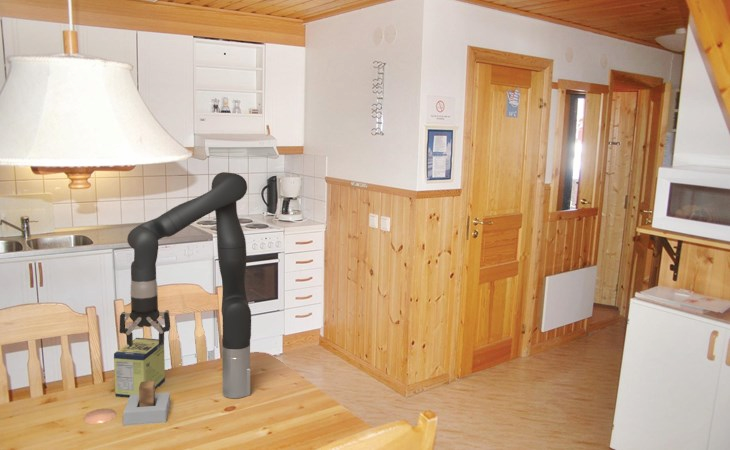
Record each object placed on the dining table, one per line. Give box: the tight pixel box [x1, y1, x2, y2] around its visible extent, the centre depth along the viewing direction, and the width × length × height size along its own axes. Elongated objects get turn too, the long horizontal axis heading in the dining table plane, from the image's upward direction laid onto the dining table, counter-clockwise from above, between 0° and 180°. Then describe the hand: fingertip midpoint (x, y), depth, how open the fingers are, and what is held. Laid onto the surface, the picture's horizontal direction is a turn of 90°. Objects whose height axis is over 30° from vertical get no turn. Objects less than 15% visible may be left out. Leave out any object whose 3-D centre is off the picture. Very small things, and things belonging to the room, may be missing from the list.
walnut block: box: [139, 381, 156, 407], centre depth 176 cm, size 4×4×10 cm
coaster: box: [83, 408, 117, 425], centre depth 175 cm, size 9×9×1 cm
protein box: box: [113, 337, 166, 399], centre depth 194 cm, size 10×16×16 cm
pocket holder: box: [122, 392, 171, 427], centre depth 177 cm, size 12×12×4 cm
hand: (145, 344), depth 173 cm, fingers open, 8 cm apart
